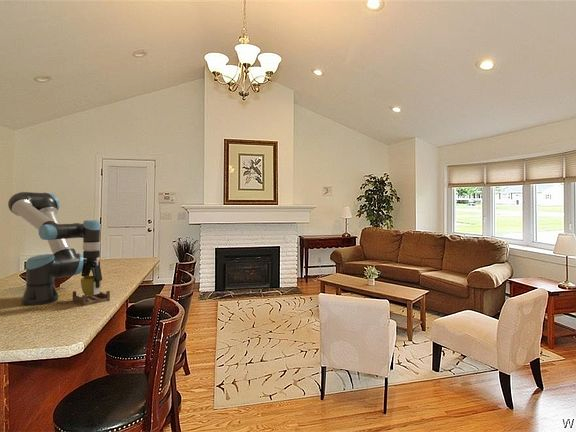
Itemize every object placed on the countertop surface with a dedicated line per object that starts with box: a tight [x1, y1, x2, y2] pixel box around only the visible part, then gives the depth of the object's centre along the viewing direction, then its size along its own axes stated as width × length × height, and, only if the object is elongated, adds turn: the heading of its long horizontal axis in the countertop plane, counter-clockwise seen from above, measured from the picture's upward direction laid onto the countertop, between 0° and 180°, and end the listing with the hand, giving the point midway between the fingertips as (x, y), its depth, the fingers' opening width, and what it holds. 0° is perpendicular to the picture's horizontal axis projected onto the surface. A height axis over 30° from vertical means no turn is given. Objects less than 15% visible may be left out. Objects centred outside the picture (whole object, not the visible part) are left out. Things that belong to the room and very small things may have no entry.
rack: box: [72, 290, 111, 307], centre depth 179 cm, size 13×13×5 cm
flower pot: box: [80, 275, 103, 296], centre depth 179 cm, size 9×9×9 cm
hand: (91, 292), depth 179 cm, fingers closed on flower pot, 11 cm apart
